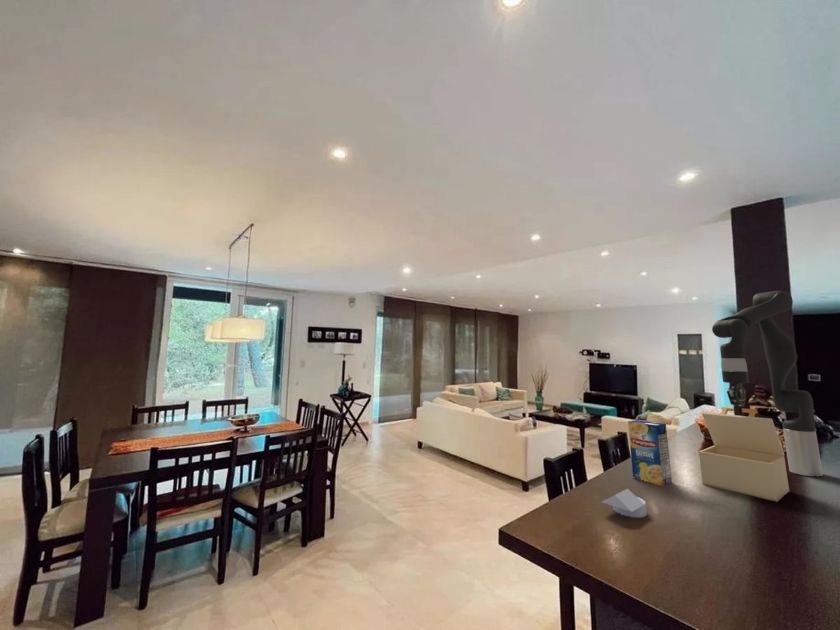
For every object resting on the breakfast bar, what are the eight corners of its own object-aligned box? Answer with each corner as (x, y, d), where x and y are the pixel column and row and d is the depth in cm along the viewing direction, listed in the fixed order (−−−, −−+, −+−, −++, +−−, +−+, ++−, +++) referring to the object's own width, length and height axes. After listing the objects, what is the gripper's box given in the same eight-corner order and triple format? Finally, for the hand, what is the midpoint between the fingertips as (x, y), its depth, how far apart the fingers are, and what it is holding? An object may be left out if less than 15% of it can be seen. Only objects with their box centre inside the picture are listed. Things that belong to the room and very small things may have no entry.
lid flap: (714, 445, 141) (718, 434, 145) (784, 455, 125) (786, 443, 128) (701, 413, 138) (706, 403, 142) (771, 420, 122) (774, 408, 125)
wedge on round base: (633, 524, 101) (651, 512, 108) (630, 499, 102) (649, 489, 109) (601, 513, 108) (621, 503, 115) (599, 490, 109) (619, 481, 116)
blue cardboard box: (663, 486, 130) (656, 425, 133) (632, 478, 139) (627, 421, 142) (672, 482, 133) (666, 423, 136) (642, 475, 143) (637, 419, 146)
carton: (718, 476, 140) (714, 445, 141) (789, 491, 123) (784, 456, 125) (702, 484, 131) (698, 451, 133) (776, 501, 114) (771, 463, 116)
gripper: (728, 370, 142) (733, 414, 140) (715, 370, 135) (720, 416, 132) (752, 370, 136) (758, 416, 134) (741, 370, 129) (746, 418, 126)
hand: (739, 416), depth 133 cm, fingers closed
